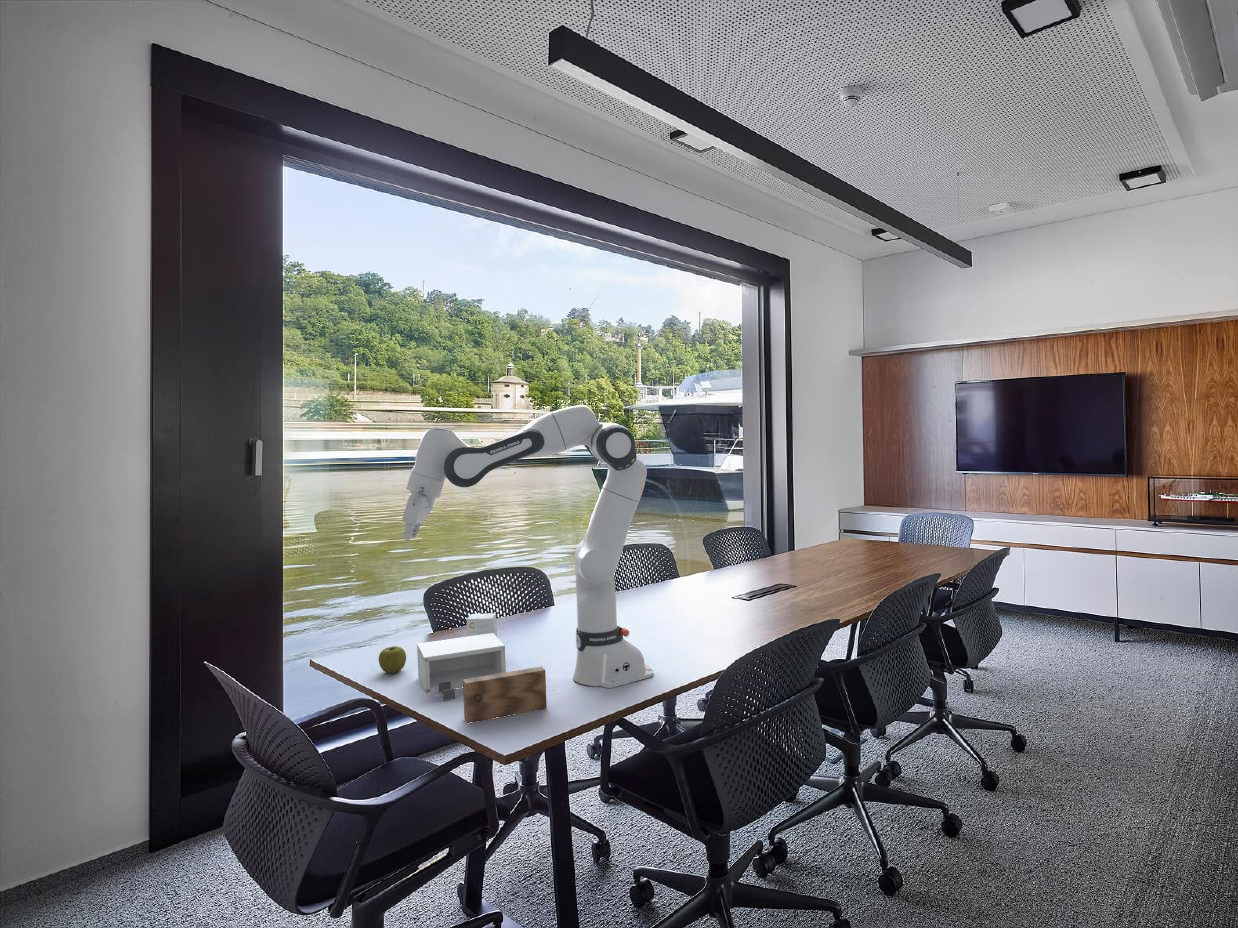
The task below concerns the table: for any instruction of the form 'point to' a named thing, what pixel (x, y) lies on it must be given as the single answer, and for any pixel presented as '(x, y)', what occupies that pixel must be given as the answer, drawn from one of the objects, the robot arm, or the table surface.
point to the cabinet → (458, 662)
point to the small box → (481, 624)
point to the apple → (392, 659)
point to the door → (504, 694)
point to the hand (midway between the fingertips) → (409, 538)
